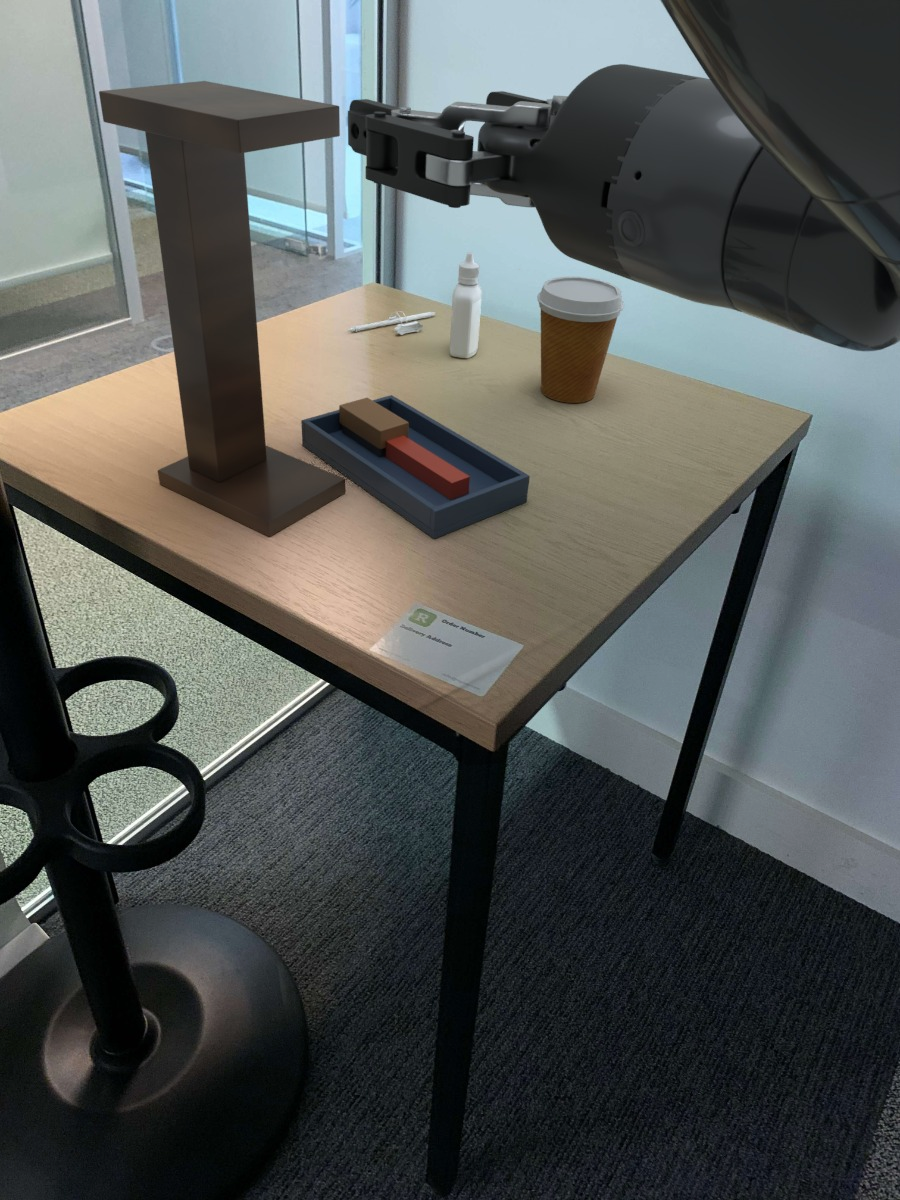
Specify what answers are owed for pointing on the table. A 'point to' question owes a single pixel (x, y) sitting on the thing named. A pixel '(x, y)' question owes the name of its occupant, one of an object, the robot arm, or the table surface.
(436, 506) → the tray
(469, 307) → the eye dropper bottle
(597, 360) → the disposable coffee cup
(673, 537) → the table surface
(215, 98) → the shelf stand
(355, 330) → the picture light
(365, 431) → the brush
